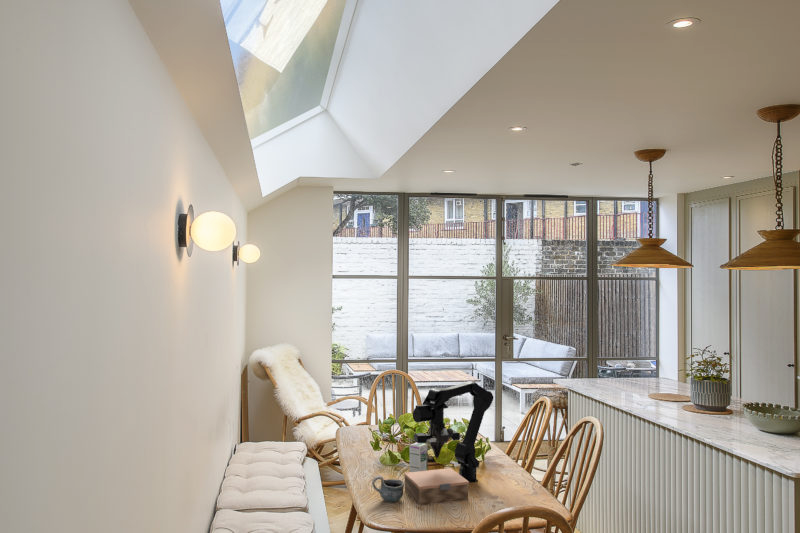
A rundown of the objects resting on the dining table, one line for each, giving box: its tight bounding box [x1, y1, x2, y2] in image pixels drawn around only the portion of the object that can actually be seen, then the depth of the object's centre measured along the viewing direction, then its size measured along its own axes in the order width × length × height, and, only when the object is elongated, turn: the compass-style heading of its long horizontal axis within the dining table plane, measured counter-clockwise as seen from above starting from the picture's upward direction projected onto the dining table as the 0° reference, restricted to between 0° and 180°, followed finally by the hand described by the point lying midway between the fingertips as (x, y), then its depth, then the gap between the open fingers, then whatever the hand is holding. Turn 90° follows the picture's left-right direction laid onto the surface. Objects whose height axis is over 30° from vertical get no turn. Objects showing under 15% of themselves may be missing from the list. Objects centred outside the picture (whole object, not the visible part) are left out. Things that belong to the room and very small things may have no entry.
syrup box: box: [408, 441, 429, 472], centre depth 266 cm, size 6×6×14 cm
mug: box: [371, 475, 405, 503], centre depth 237 cm, size 10×12×10 cm
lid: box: [404, 467, 470, 490], centre depth 244 cm, size 20×19×2 cm
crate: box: [404, 475, 469, 506], centre depth 244 cm, size 20×18×6 cm
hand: (436, 457), depth 254 cm, fingers closed
